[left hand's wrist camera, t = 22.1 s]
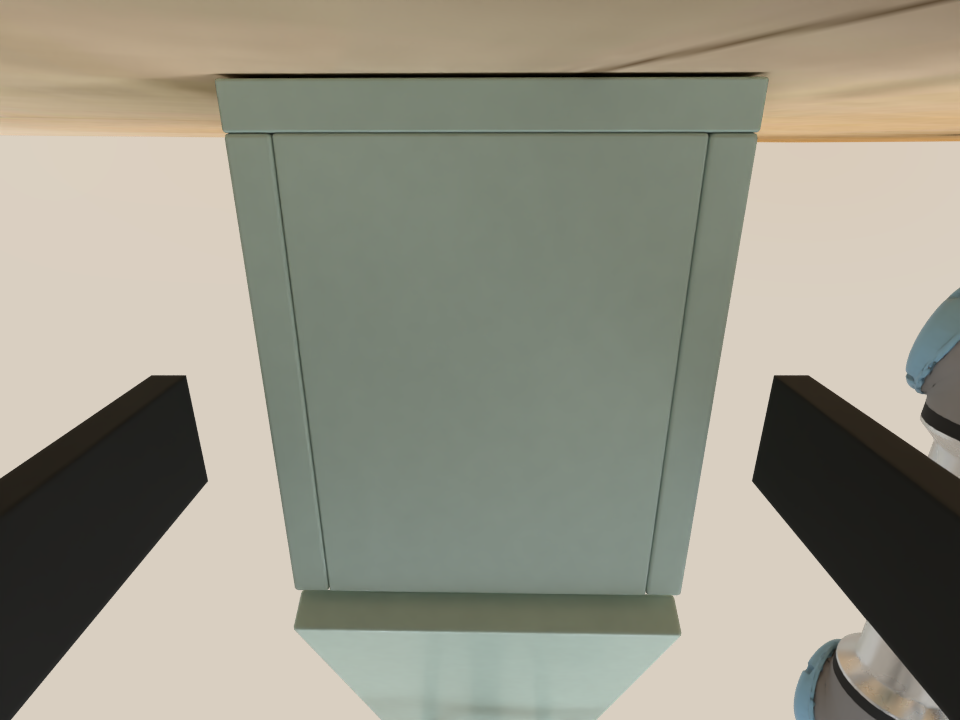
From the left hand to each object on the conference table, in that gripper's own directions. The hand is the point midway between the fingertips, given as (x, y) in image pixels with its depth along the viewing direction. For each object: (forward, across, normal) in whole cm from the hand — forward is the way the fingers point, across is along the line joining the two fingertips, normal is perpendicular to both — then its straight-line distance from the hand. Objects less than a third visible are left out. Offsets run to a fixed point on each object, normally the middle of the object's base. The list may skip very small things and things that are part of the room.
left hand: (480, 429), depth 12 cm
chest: (+8, 0, -7) cm, 11 cm away
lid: (+4, 0, +12) cm, 13 cm away
